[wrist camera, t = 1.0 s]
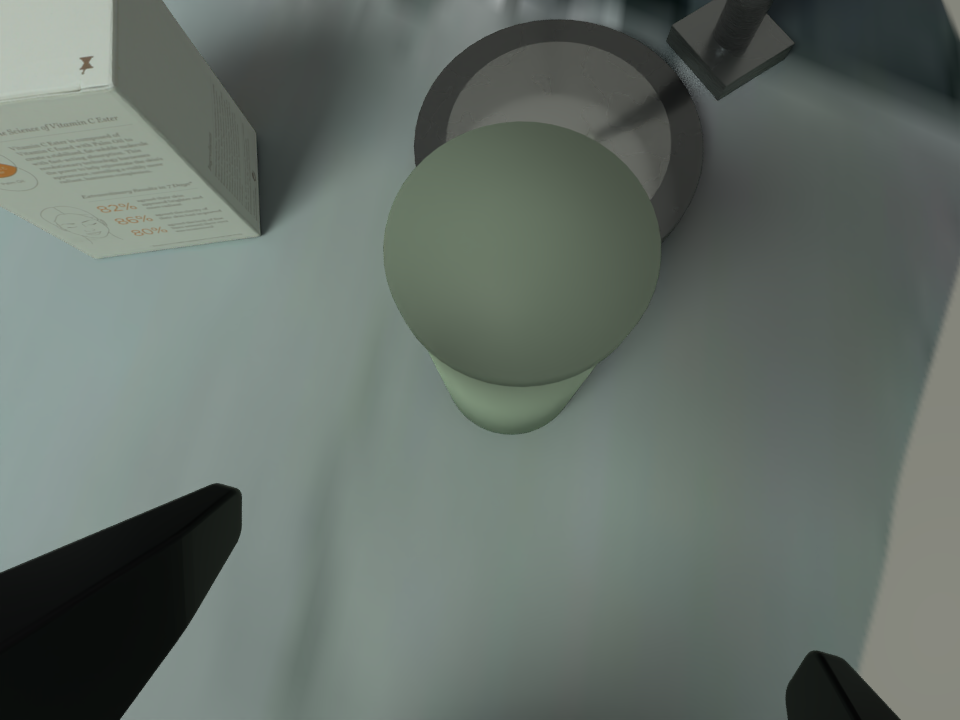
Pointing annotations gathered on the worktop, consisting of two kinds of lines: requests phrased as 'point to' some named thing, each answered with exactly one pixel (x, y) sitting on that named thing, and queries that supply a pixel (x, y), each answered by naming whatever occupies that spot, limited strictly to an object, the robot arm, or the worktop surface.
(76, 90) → the small box
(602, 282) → the canister
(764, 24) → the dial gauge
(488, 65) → the platter
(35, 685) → the robot arm
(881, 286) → the worktop surface
